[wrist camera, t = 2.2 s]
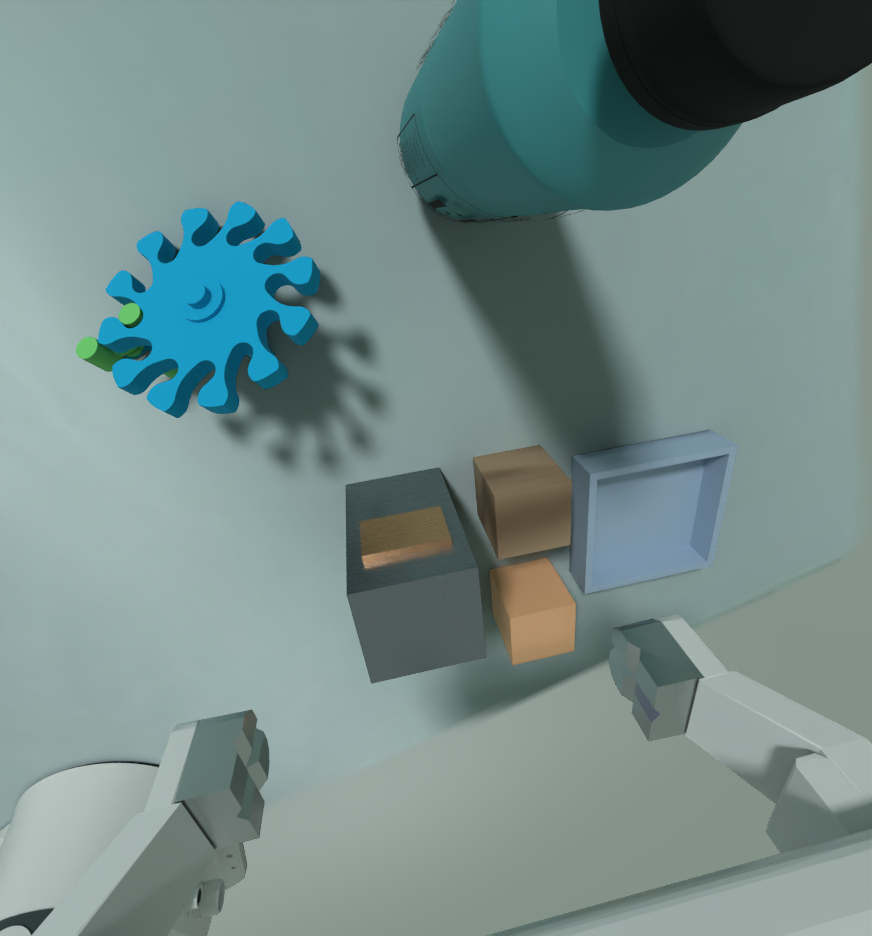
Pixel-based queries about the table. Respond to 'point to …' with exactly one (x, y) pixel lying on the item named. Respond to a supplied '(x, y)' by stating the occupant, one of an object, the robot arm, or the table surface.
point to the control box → (411, 576)
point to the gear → (205, 311)
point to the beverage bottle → (607, 95)
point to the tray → (648, 509)
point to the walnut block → (523, 501)
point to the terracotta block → (533, 610)
